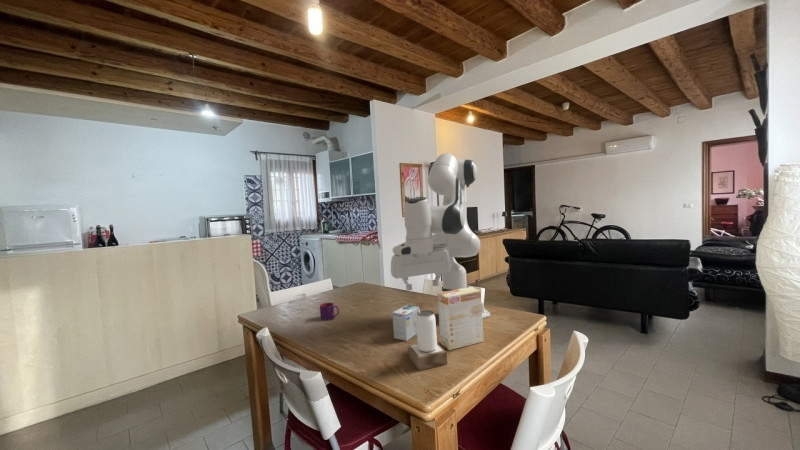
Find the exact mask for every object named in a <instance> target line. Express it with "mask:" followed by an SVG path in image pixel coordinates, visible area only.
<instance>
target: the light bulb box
mask: <svg viewBox="0 0 800 450" xmlns="http://www.w3.org/2000/svg"><path fill="white" fill-rule="evenodd" d="M419 311H420V306H416V305H410V304H405V305H403V306H402V307H400V308H398V309H396V310H394V311H392V314H391V315H392V326H393V328H392V329H393V337H394V339H397V340H401V341H405V342H407V341H409V340H410V339H412V338H413V337H415V336H417V327H416V317H417V312H419Z"/></svg>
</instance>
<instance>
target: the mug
mask: <svg viewBox="0 0 800 450" xmlns="http://www.w3.org/2000/svg"><path fill="white" fill-rule="evenodd" d="M335 308H336V309H337V313H336V314H335ZM319 313H320V314H319V315H320V320H321V321H325V322H326V320H327V321H331V320H334V319H335V317H337V316H339V314H340V308H339V307H338V305H334V303H333V302H324V303H322V304H319Z"/></svg>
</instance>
